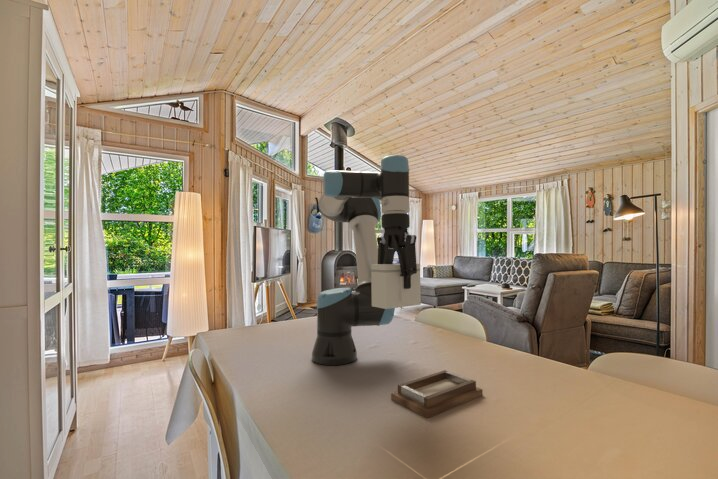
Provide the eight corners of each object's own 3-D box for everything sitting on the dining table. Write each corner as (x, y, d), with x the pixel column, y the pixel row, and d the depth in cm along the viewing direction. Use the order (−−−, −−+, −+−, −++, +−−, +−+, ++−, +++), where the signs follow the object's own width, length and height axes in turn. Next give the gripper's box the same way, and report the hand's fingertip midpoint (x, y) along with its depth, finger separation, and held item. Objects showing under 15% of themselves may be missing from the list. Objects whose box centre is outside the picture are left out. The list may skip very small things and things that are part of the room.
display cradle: (391, 399, 87) (391, 384, 88) (445, 380, 99) (445, 368, 99) (427, 418, 78) (427, 402, 78) (482, 395, 90) (482, 381, 90)
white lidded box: (371, 306, 94) (371, 264, 94) (405, 302, 101) (405, 263, 101) (385, 309, 89) (385, 265, 89) (420, 304, 96) (420, 263, 96)
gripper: (363, 216, 101) (364, 297, 100) (408, 209, 86) (410, 305, 85) (384, 217, 106) (385, 295, 105) (431, 210, 90) (432, 302, 89)
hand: (396, 299), depth 95 cm, fingers closed on white lidded box, 6 cm apart
